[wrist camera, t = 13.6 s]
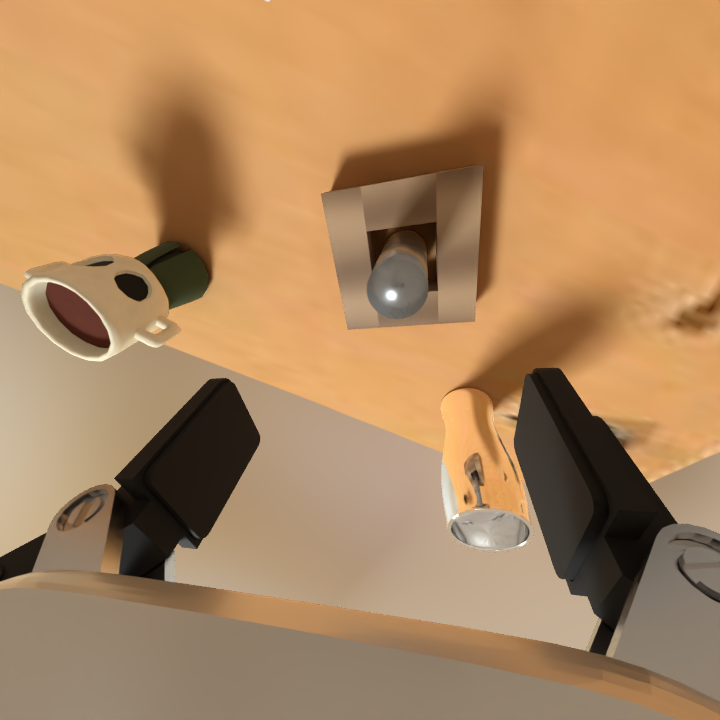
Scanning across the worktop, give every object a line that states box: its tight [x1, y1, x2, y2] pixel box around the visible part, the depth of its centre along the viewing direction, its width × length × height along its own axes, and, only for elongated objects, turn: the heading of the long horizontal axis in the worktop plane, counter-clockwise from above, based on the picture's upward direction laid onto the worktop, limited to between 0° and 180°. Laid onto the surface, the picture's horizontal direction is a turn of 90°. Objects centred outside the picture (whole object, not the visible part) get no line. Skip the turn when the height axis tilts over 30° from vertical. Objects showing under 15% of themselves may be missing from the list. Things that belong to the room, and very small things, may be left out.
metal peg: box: [367, 230, 428, 319], centre depth 23 cm, size 4×4×10 cm
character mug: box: [21, 242, 208, 361], centre depth 27 cm, size 11×7×13 cm, turn 59°
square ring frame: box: [321, 165, 484, 330], centre depth 26 cm, size 12×12×3 cm
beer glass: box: [440, 388, 534, 552], centre depth 30 cm, size 7×7×15 cm
